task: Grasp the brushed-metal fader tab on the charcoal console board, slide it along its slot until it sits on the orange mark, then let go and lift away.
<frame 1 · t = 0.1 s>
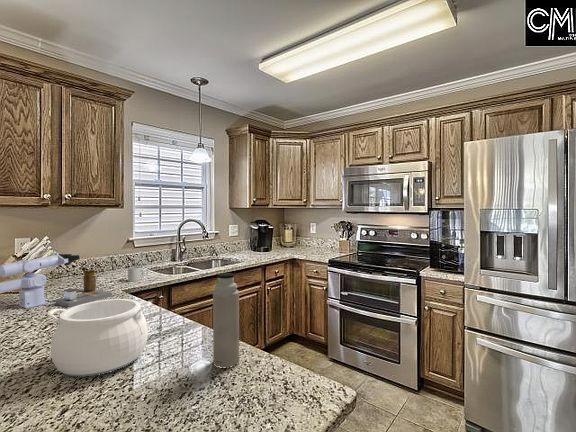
hand: (75, 256, 175), 22 cm above the worktop, tool horizontal, fingers open, 7 cm apart
thermos bottle: (226, 363, 99), on the worktop
fader tab: (70, 294, 160), point 5 cm above the worktop, slide at 0.0 cm
console board: (84, 300, 167), on the worktop
condiment: (89, 291, 185), on the worktop
cup: (136, 280, 211), on the worktop
pot: (102, 360, 101), on the worktop
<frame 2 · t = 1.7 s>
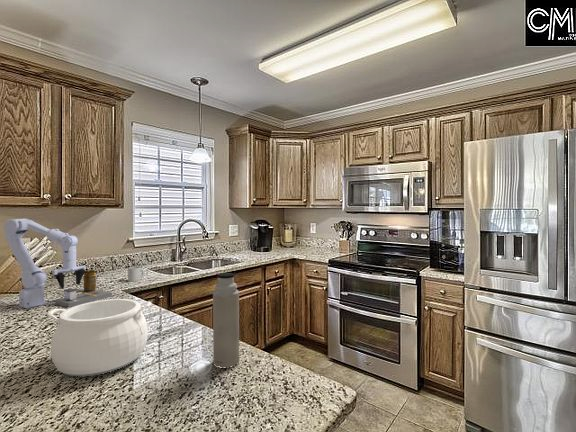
hand: (70, 286, 160), 9 cm above the worktop, tool pointing down, fingers open, 7 cm apart
nothing on the worktop moved.
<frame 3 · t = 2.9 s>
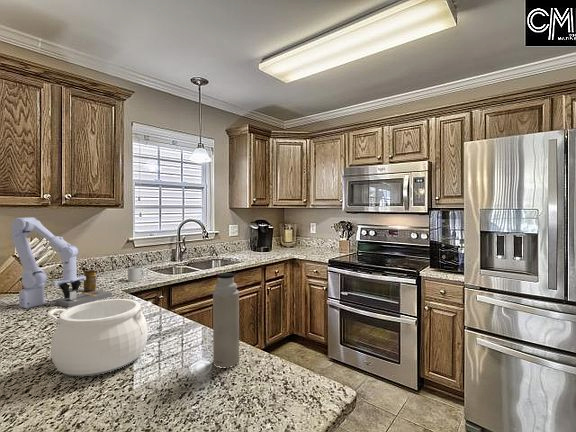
hand: (70, 296, 160), 3 cm above the worktop, tool pointing down, fingers closed on fader tab, 3 cm apart
fader tab: (70, 294, 160), point 5 cm above the worktop, slide at 0.0 cm, touching gripper
everything else where it was.
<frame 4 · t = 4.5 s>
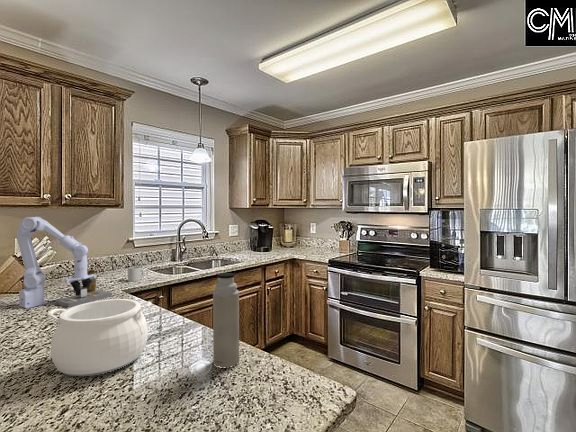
hand: (81, 294, 165), 3 cm above the worktop, tool pointing down, fingers closed on fader tab, 3 cm apart
fader tab: (81, 291, 165), point 5 cm above the worktop, slide at 5.3 cm, touching gripper
everything else where it was.
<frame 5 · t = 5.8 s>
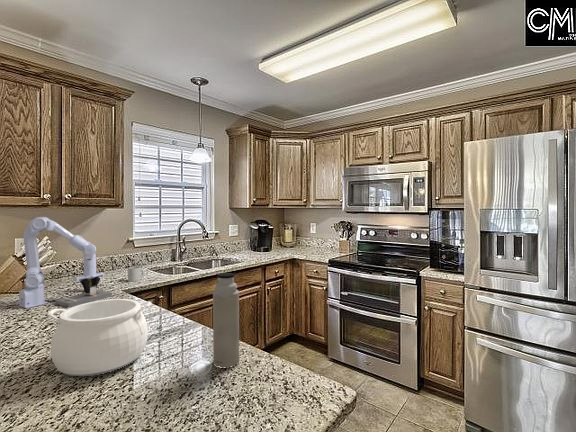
hand: (90, 292, 169), 3 cm above the worktop, tool pointing down, fingers closed on fader tab, 3 cm apart
fader tab: (90, 289, 169), point 5 cm above the worktop, slide at 10.0 cm, touching gripper
everything else where it was.
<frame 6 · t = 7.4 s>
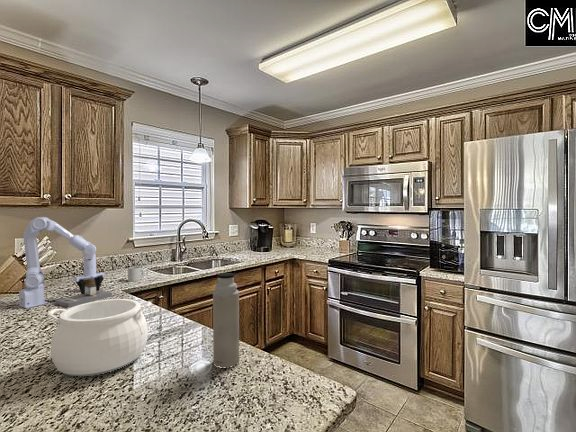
hand: (90, 292, 169), 3 cm above the worktop, tool pointing down, fingers open, 7 cm apart
fader tab: (90, 289, 169), point 5 cm above the worktop, slide at 10.0 cm
everything else where it was.
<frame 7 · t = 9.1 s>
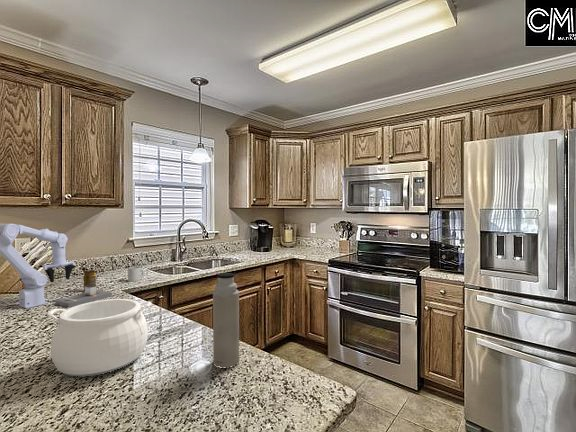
hand: (59, 280, 171), 9 cm above the worktop, tool pointing down, fingers open, 7 cm apart
nothing on the worktop moved.
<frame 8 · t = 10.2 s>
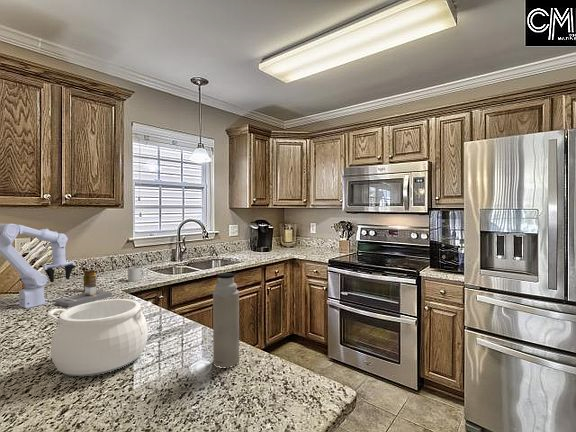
hand: (59, 280, 171), 9 cm above the worktop, tool pointing down, fingers open, 7 cm apart
nothing on the worktop moved.
at the end: fader tab slide at 10.0 cm; the gripper is holding nothing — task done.
